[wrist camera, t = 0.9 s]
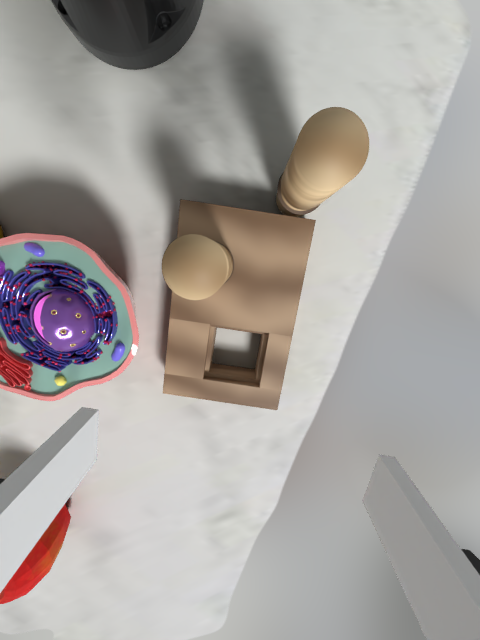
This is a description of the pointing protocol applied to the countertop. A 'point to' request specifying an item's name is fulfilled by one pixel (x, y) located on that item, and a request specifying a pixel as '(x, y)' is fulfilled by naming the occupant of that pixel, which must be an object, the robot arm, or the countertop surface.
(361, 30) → the countertop surface
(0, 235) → the mug
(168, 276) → the board
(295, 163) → the peg
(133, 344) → the cell model
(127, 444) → the countertop surface
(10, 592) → the apple
